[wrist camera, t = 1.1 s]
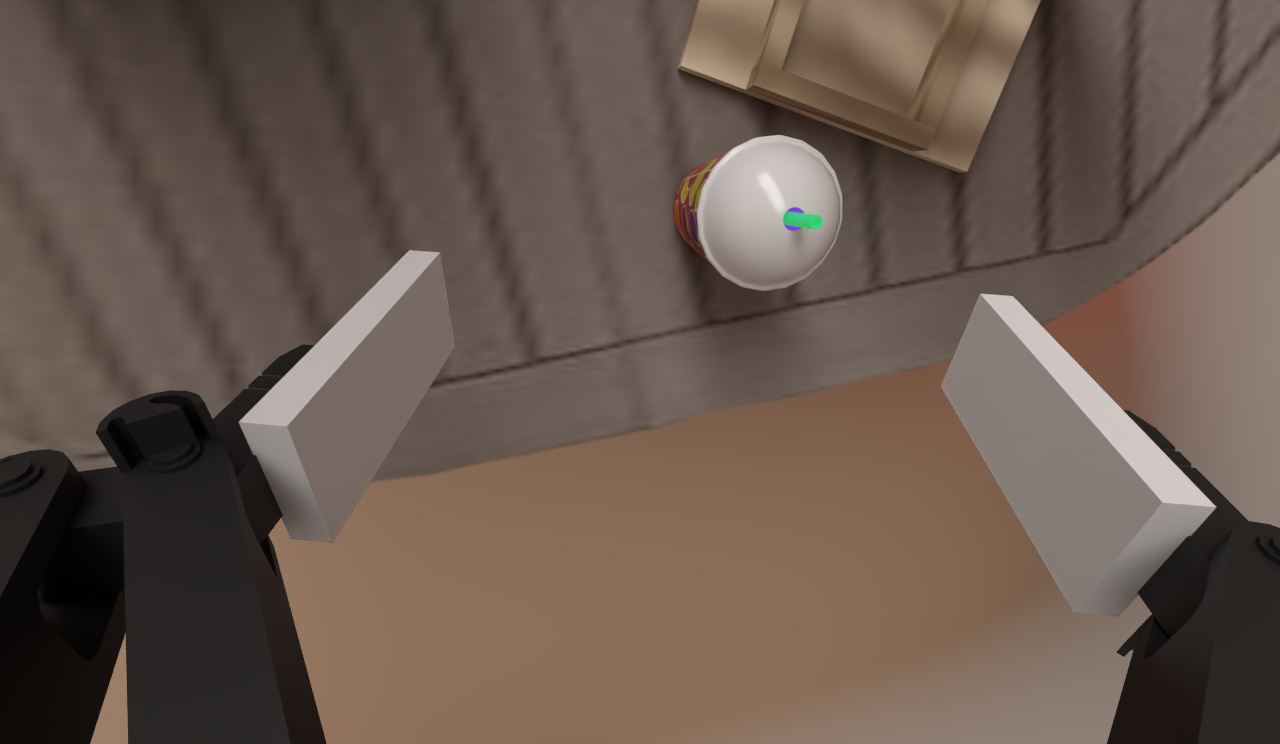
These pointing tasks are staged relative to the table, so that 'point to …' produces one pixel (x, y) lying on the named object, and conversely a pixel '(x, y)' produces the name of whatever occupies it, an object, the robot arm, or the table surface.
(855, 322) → the table surface
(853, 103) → the wooden pedestal stand
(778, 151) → the smoothie
